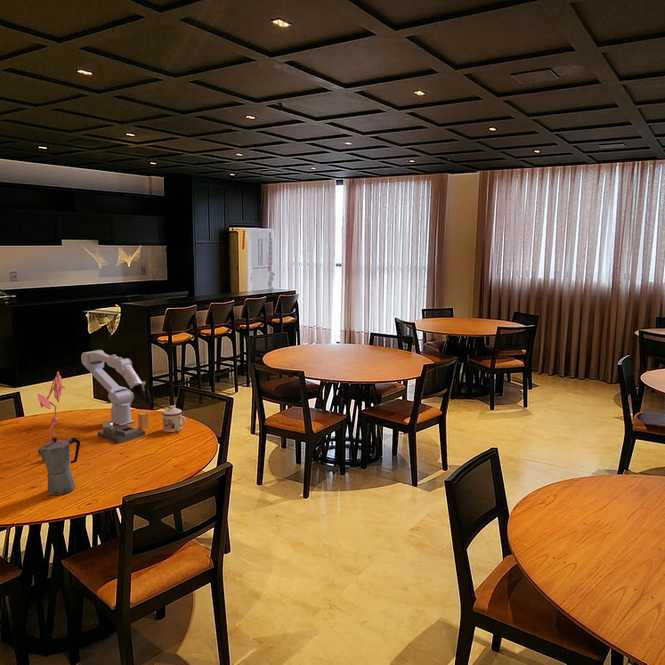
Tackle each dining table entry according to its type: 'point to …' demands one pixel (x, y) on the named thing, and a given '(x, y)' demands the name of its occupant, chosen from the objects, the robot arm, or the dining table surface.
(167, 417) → the teacup with lid
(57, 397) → the pink orchid stem
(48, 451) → the moka pot
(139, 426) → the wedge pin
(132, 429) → the grey base plate
